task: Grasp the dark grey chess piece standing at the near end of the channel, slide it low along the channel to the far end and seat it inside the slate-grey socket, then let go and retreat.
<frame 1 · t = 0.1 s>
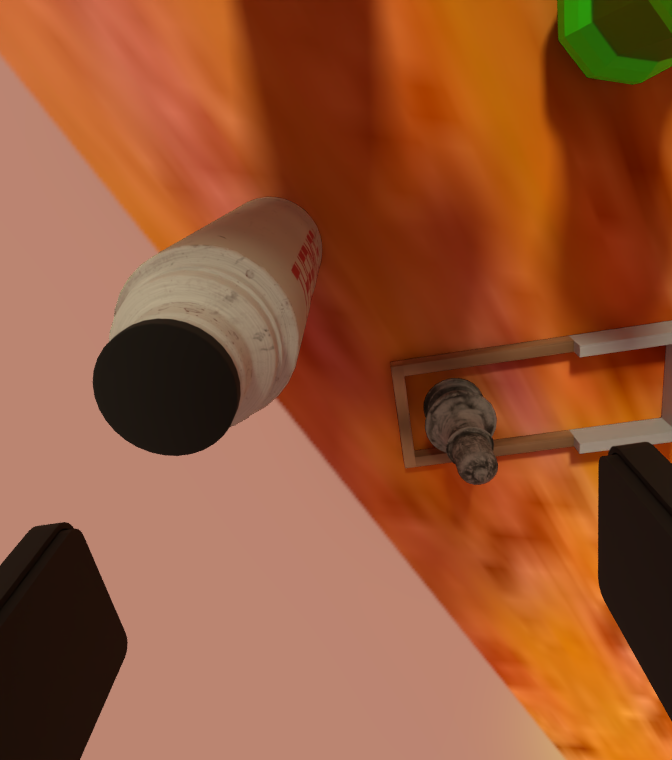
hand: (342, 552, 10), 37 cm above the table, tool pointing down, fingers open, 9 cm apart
thermos bottle: (272, 248, 44), on the table
dark grey chess piece: (453, 404, 49), on the table
socket: (616, 383, 48), on the table
plastic bottle: (610, 8, 38), on the table
channel: (487, 401, 49), on the table
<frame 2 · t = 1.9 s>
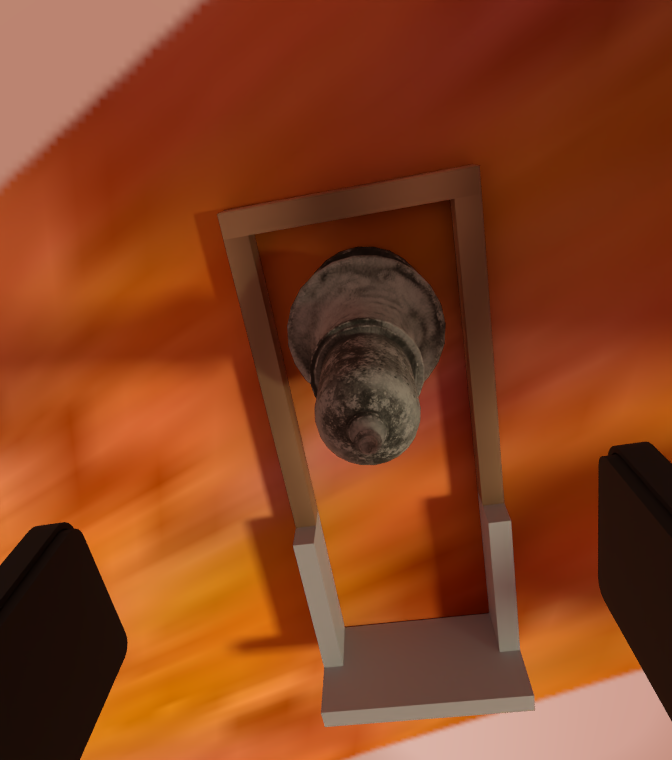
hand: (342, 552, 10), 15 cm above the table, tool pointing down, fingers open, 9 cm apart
dark grey chess piece: (365, 307, 24), on the table
socket: (406, 563, 29), on the table
channel: (375, 372, 25), on the table
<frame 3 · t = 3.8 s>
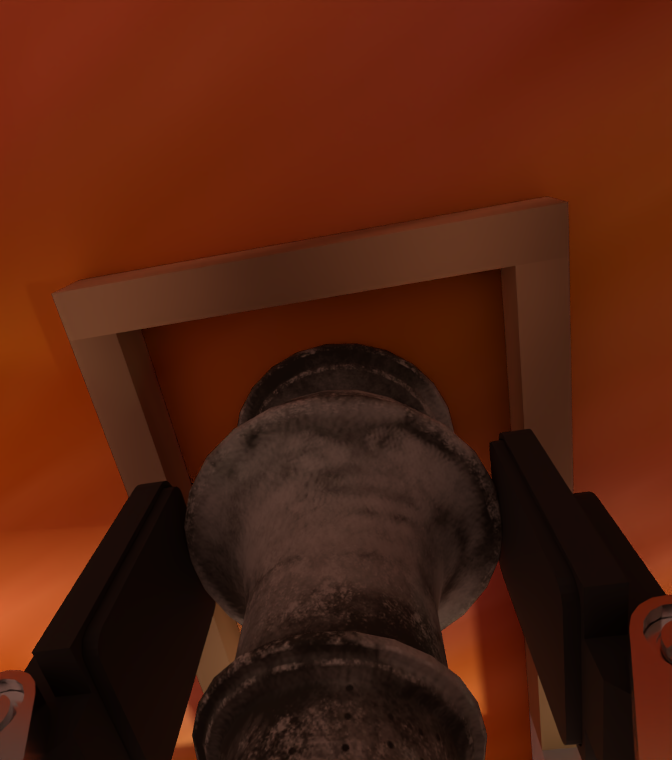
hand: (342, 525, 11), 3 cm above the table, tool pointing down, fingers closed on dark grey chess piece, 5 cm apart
dark grey chess piece: (344, 441, 14), on the table, touching gripper
channel: (363, 544, 15), on the table
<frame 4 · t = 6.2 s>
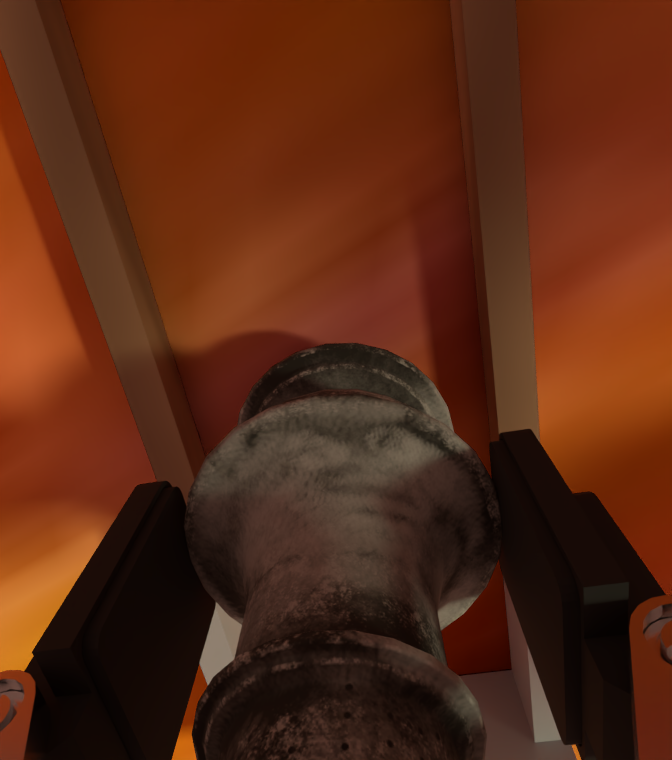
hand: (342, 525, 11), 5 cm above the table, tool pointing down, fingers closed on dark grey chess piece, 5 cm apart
dark grey chess piece: (344, 441, 14), point 2 cm above the table, touching gripper
socket: (376, 595, 18), on the table
channel: (305, 250, 14), on the table
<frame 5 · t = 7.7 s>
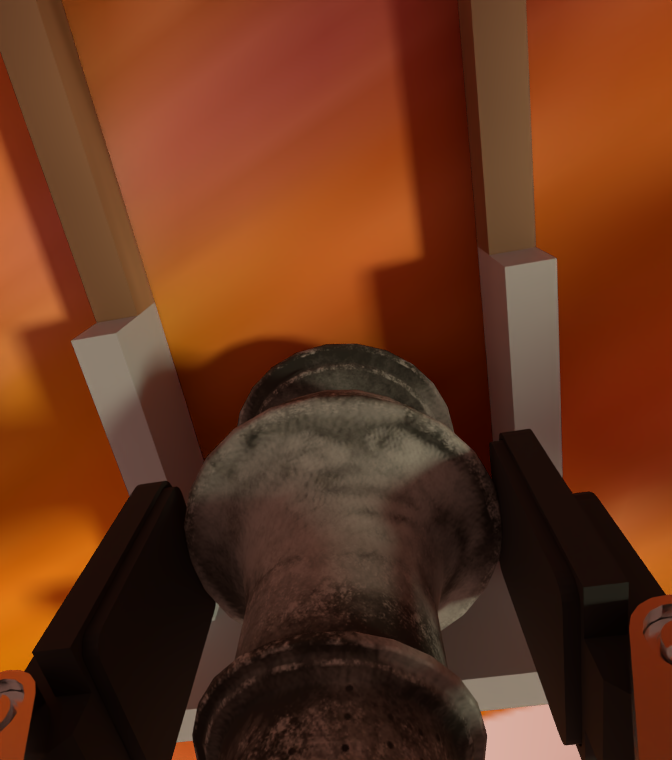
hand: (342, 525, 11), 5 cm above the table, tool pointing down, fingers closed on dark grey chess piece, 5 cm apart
dark grey chess piece: (344, 441, 14), point 1 cm above the table, touching gripper
socket: (340, 420, 15), on the table
when the fingers open (4 cm above the table, at t = 8.6 s): dark grey chess piece drops 1 cm, on the table.
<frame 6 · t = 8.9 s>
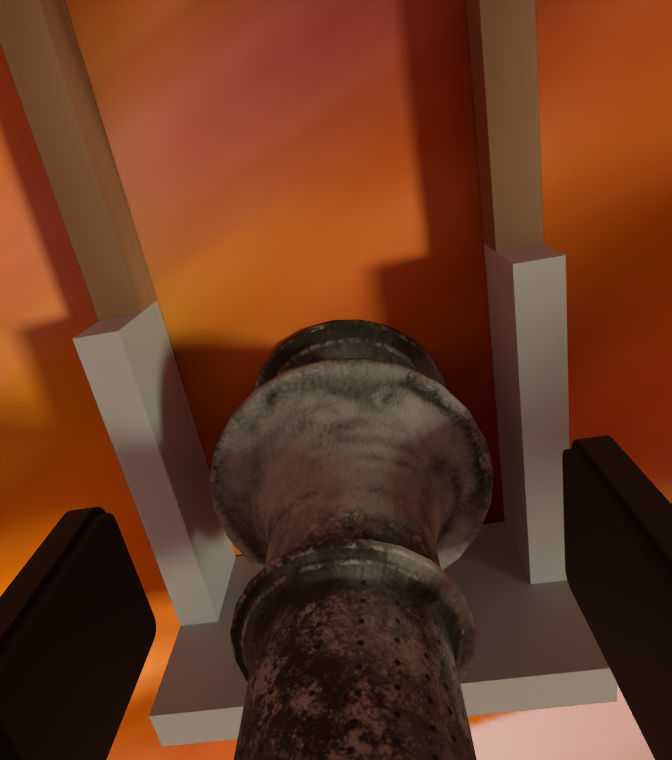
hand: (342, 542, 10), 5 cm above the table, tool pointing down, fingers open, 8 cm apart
dark grey chess piece: (350, 411, 15), on the table
socket: (344, 419, 15), on the table
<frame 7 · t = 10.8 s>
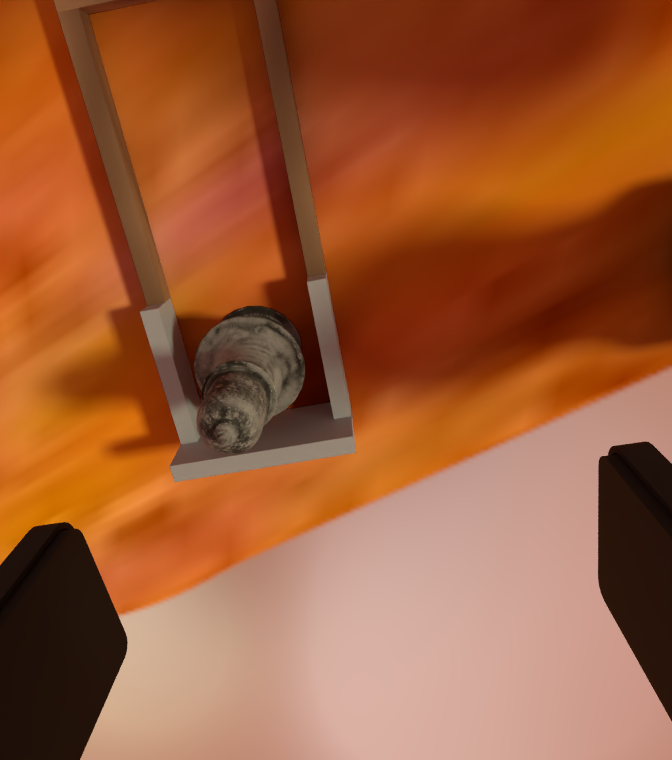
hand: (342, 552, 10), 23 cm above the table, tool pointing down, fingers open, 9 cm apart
dark grey chess piece: (257, 348, 33), on the table
socket: (255, 351, 33), on the table
channel: (207, 154, 29), on the table
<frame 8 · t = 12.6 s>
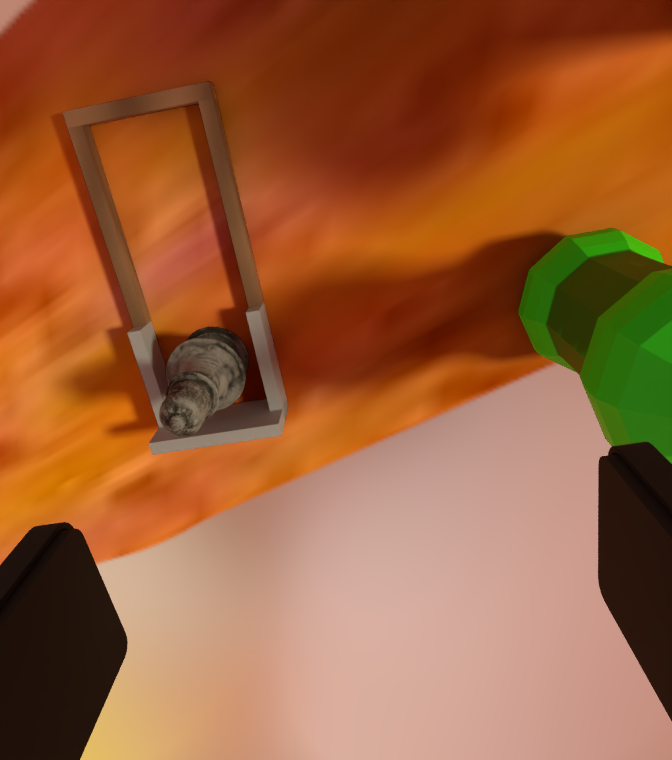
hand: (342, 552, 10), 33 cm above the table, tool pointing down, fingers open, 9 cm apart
dark grey chess piece: (216, 357, 45), on the table
socket: (214, 360, 44), on the table
plastic bottle: (571, 288, 42), on the table
channel: (174, 219, 40), on the table
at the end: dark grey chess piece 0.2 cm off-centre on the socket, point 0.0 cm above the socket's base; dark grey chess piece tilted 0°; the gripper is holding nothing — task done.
